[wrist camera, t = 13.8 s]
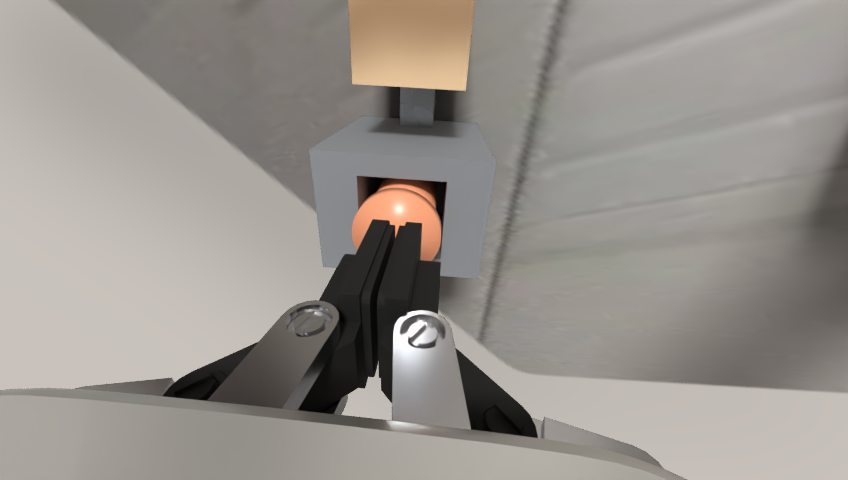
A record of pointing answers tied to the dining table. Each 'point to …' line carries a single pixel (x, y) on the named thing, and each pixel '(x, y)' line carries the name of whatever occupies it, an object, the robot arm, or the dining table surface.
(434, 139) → the end cabinet
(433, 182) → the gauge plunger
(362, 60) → the block
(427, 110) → the grey slide rail
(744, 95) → the dining table surface
